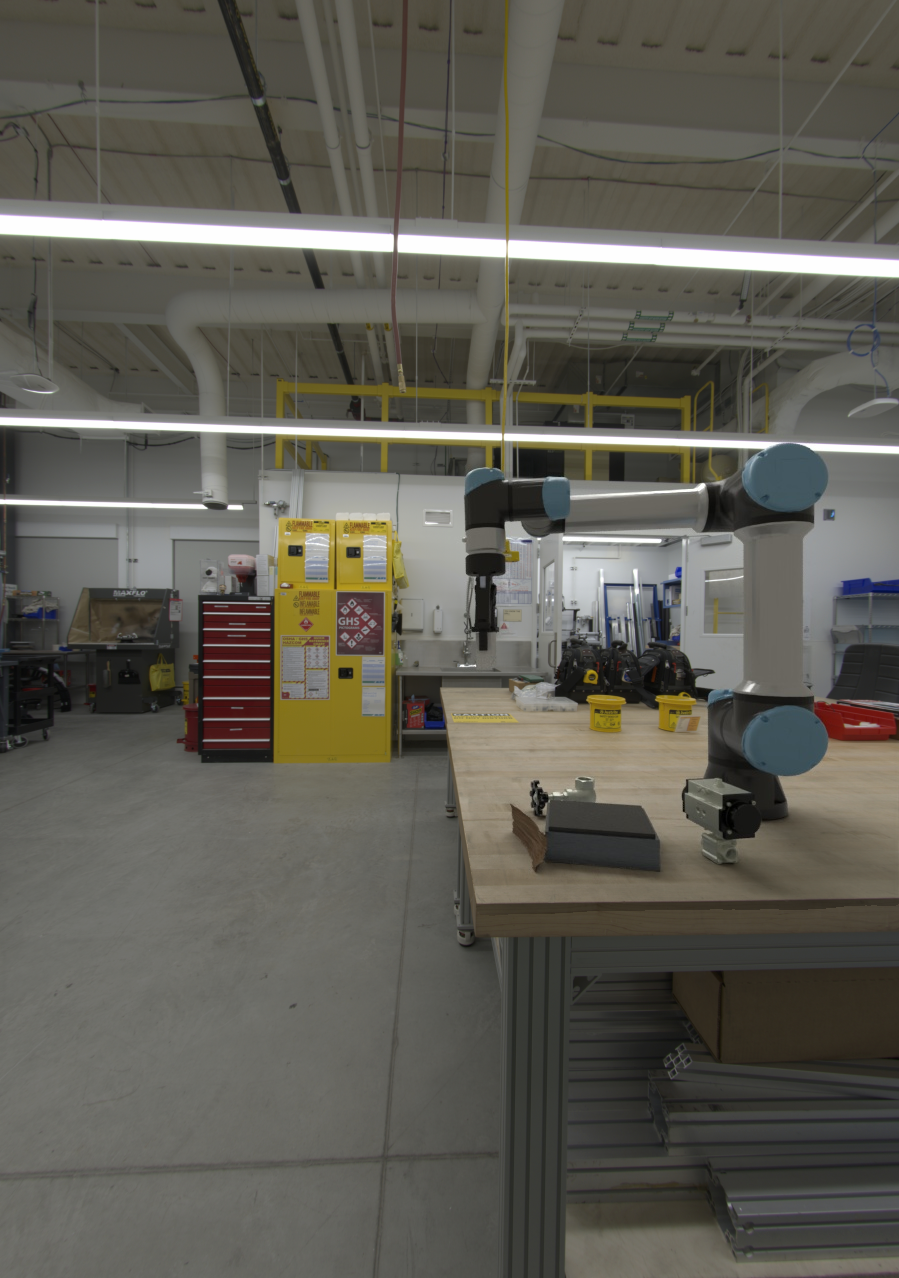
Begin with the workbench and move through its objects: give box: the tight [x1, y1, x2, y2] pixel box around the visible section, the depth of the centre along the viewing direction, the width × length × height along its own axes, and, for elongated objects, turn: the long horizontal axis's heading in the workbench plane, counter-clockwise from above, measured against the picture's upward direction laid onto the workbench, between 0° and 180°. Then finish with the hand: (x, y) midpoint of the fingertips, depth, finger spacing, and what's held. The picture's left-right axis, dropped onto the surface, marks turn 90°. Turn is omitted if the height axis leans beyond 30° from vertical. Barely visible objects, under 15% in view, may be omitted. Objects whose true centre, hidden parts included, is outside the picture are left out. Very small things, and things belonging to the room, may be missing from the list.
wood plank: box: [509, 803, 548, 872], centre depth 80 cm, size 15×2×5 cm, turn 10°
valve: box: [529, 775, 597, 816], centre depth 96 cm, size 7×7×12 cm
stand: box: [544, 800, 661, 872], centre depth 81 cm, size 16×14×5 cm
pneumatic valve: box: [681, 777, 762, 865], centre depth 76 cm, size 6×12×12 cm, turn 10°
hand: (487, 667), depth 96 cm, fingers open, 13 cm apart
